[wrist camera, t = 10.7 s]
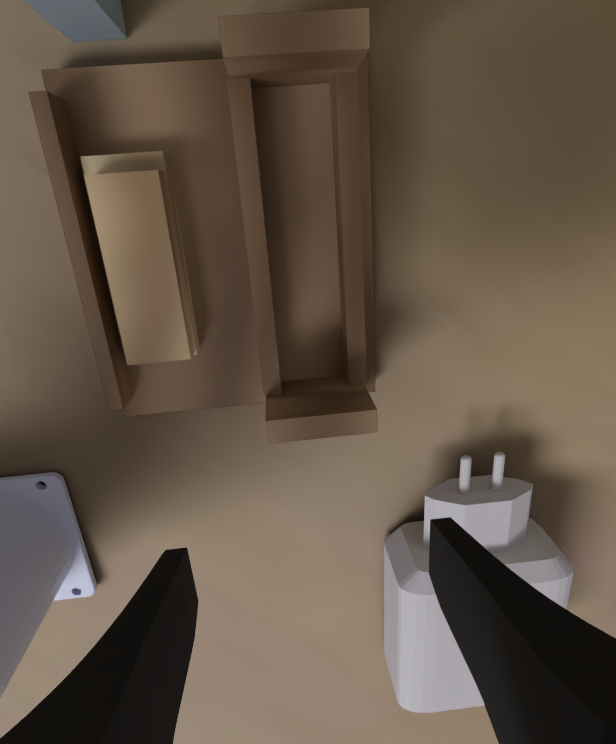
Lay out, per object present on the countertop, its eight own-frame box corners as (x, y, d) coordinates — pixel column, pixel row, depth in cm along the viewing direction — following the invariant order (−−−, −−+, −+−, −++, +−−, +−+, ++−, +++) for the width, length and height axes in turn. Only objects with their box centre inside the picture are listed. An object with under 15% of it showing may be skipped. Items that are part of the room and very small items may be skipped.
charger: (544, 423, 25) (517, 623, 30) (379, 439, 24) (381, 640, 30) (604, 470, 20) (560, 696, 26) (404, 491, 20) (401, 717, 25)
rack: (130, 407, 22) (94, 461, 18) (53, 77, 17) (-27, 29, 13) (370, 383, 23) (397, 430, 18) (362, 57, 18) (396, 6, 13)
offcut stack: (132, 354, 20) (120, 368, 19) (88, 158, 17) (70, 154, 16) (199, 348, 20) (193, 361, 19) (167, 153, 18) (156, 147, 16)
